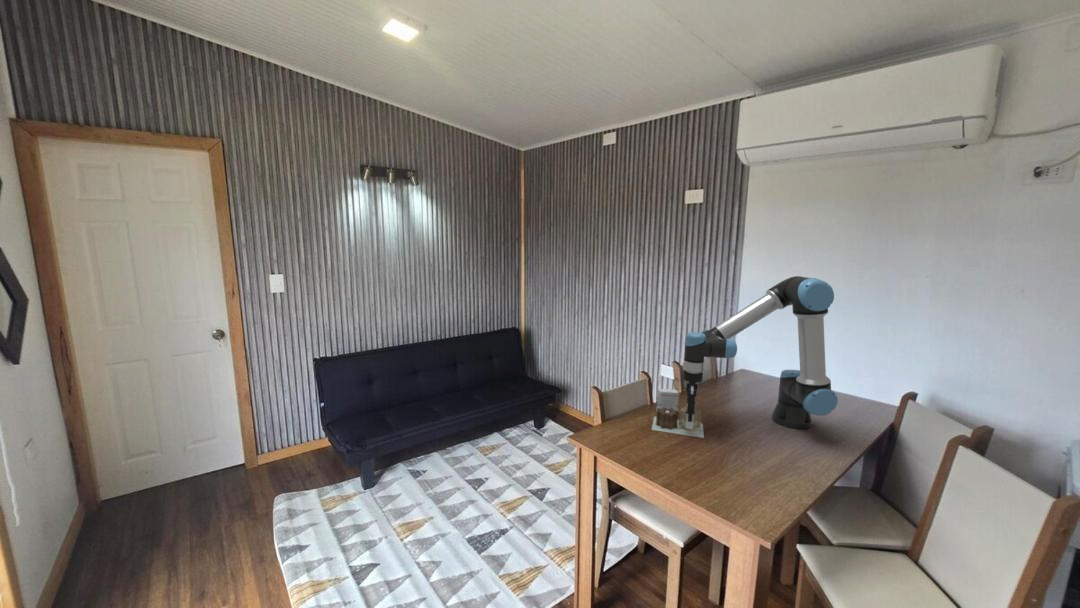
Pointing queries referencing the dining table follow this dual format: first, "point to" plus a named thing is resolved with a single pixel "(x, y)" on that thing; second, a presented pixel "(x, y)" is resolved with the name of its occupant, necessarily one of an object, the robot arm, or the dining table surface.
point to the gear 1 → (667, 418)
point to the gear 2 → (683, 415)
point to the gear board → (680, 429)
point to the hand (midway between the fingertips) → (689, 423)
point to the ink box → (668, 399)
